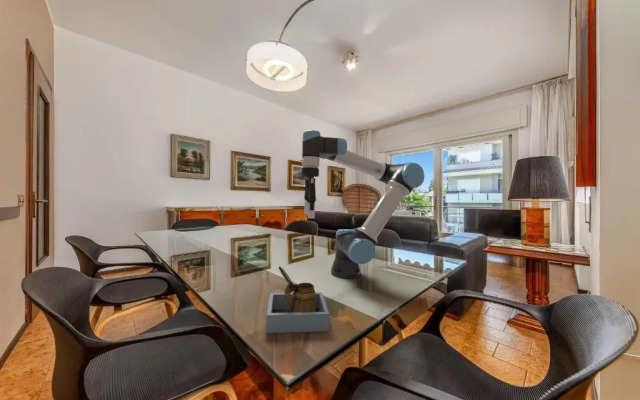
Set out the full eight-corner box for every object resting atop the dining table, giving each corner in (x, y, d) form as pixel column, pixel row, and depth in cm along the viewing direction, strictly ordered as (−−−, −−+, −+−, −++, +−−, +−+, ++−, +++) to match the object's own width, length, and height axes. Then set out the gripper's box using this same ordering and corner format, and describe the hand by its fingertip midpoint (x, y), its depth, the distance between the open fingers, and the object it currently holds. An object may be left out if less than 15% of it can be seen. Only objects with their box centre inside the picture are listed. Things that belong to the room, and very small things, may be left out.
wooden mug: (275, 313, 86) (277, 262, 85) (314, 310, 89) (316, 261, 88) (277, 327, 78) (279, 271, 77) (319, 324, 81) (321, 269, 80)
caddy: (321, 306, 92) (322, 292, 92) (328, 331, 77) (329, 313, 77) (269, 307, 90) (270, 293, 89) (266, 333, 75) (266, 315, 74)
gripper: (299, 168, 119) (298, 212, 121) (304, 164, 95) (303, 220, 96) (314, 169, 121) (313, 213, 122) (324, 165, 96) (322, 220, 97)
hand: (309, 216), depth 109 cm, fingers open, 13 cm apart
